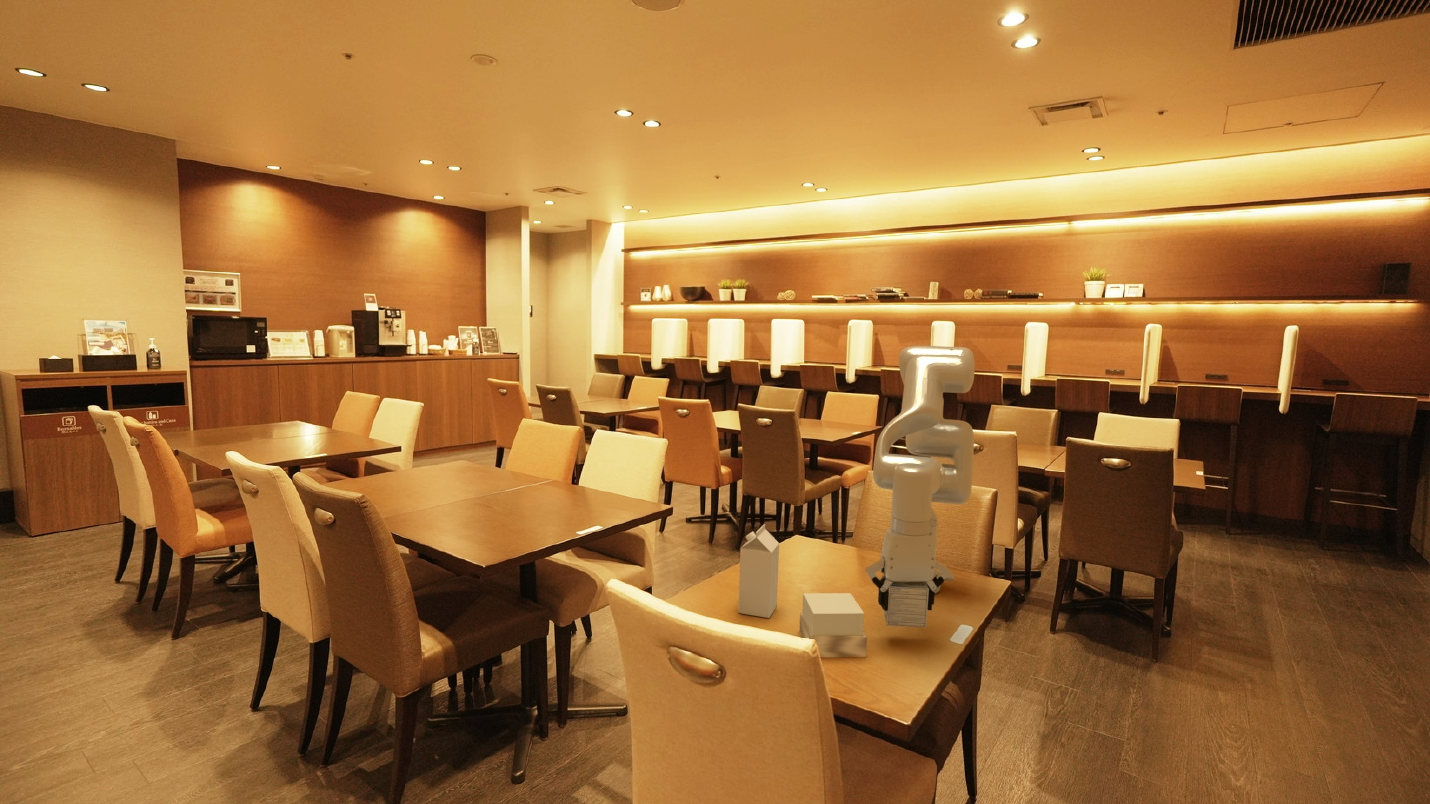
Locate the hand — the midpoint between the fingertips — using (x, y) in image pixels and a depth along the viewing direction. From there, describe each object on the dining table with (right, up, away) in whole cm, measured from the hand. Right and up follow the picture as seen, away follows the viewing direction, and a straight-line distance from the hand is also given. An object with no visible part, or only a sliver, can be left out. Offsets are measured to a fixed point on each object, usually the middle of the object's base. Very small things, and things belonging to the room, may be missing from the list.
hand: (905, 607), depth 136 cm
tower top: (-15, -3, -1) cm, 16 cm away
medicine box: (0, -4, +1) cm, 3 cm away
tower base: (-15, -8, -1) cm, 17 cm away
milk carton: (-29, -5, +15) cm, 33 cm away
